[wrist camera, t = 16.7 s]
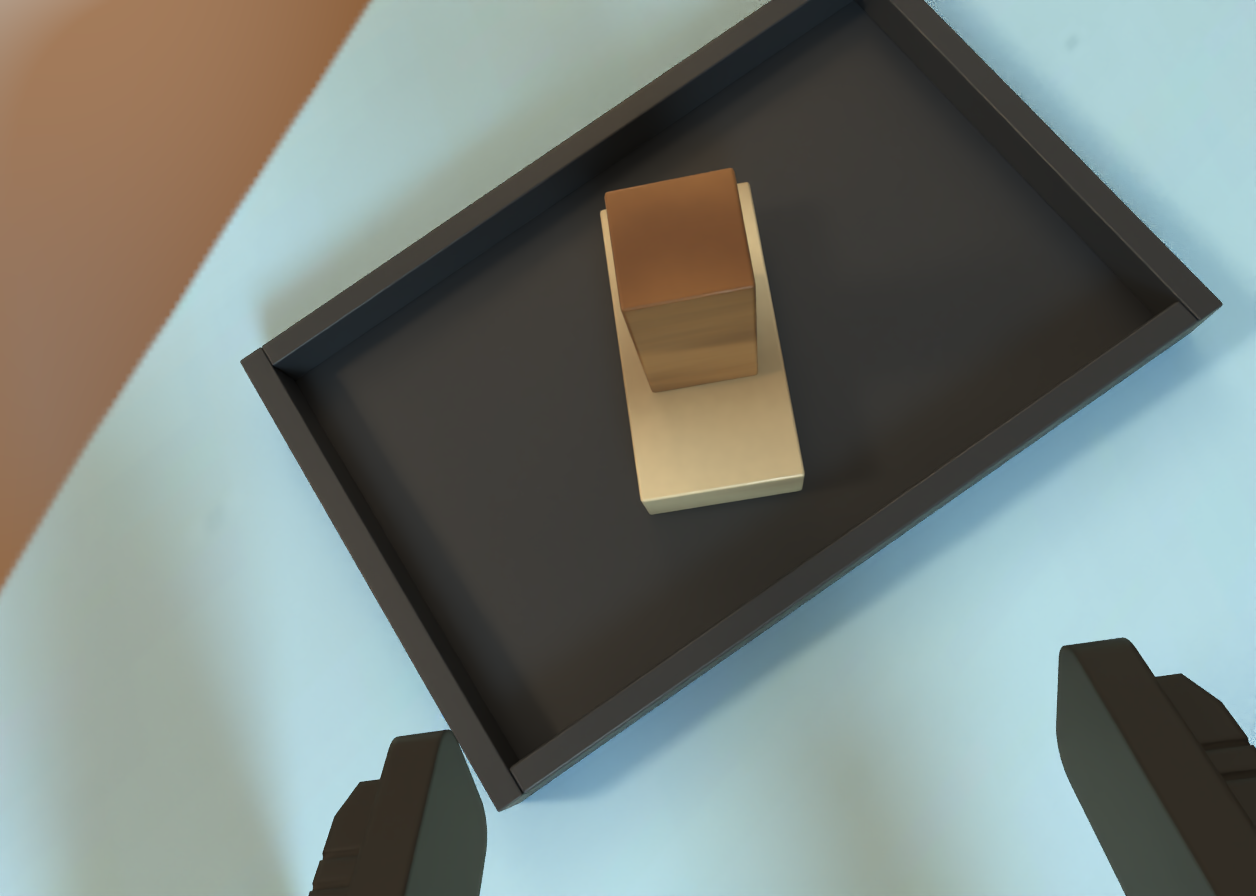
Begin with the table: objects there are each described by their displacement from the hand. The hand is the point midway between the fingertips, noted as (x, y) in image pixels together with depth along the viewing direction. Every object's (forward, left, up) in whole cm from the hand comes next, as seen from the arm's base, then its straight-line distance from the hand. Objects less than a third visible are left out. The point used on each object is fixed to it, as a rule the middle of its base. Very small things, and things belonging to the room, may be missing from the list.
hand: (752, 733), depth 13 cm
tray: (-5, -9, -14) cm, 18 cm away
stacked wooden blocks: (-5, -9, -14) cm, 17 cm away
